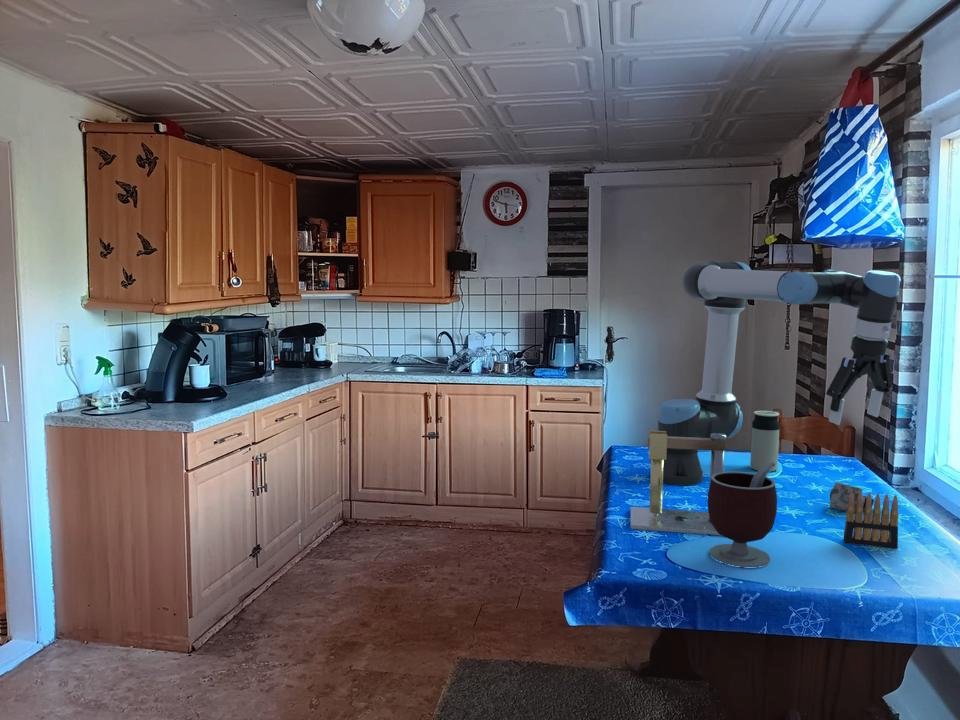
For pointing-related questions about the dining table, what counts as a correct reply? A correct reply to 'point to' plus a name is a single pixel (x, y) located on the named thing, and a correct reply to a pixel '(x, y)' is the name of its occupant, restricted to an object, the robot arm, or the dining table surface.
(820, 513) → the dining table surface
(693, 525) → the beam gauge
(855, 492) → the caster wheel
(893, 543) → the ammunition clip
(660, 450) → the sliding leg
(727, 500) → the mate gourd
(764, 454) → the travel mug
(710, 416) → the robot arm
